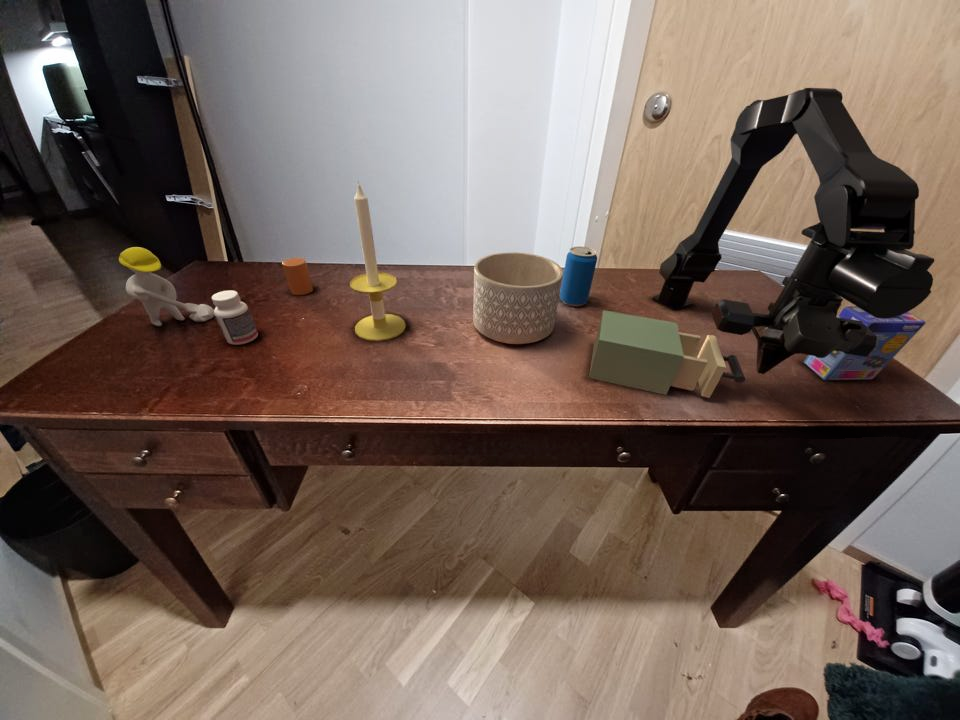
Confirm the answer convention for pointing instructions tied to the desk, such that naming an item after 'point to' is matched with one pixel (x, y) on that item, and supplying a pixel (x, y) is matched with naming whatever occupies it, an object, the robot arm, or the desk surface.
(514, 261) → the planter
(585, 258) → the beverage can
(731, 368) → the drawer
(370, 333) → the candle
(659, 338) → the cabinet
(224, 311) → the pill bottle
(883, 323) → the ink cartridge box
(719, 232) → the robot arm
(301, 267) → the orange cylinder
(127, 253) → the figurine
